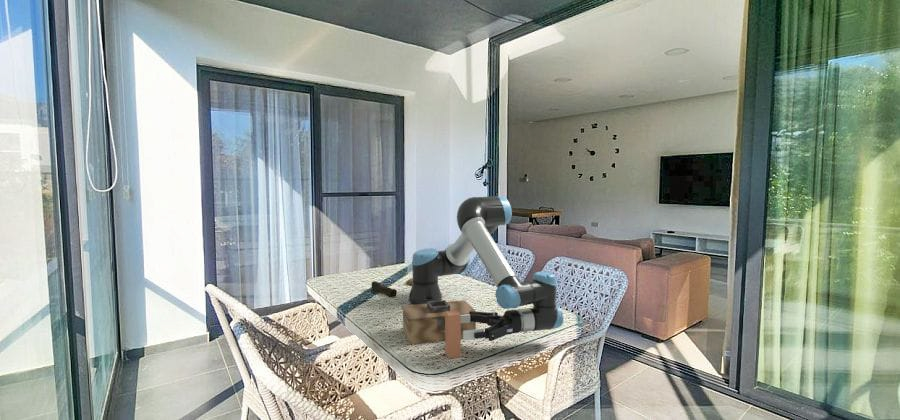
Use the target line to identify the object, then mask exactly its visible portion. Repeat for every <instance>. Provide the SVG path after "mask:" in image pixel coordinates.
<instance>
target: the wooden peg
mask: <svg viewBox="0 0 900 420" xmlns="http://www.w3.org/2000/svg"><path fill="white" fill-rule="evenodd" d="M461 341H462V338H461V314H460V313H459V312H458V311H457V310H455V311H445V340H444V343H445V345H444V354H445V355H446V357H447V359H455V358H461V354H462V353H461V351H462V350H461V347H462V346H461V345H462V344H461V343H462V342H461Z"/></svg>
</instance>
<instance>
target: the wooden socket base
mask: <svg viewBox="0 0 900 420" xmlns="http://www.w3.org/2000/svg"><path fill="white" fill-rule="evenodd" d="M401 310H402V330H403V332H404V335H405V337H406V340H407V342H408V344H409V345H416V344H426V343H433V342H441V341H443V342H444V341H445V311H455V310H457V311H458V312H459V313H460V314H461V315H466V314H469V312H470V311H474V312H477V311H476V310H475V309H474V308H473V306H472V305H470V304H469V303H468V302H467V300H465V299H464V300H462V299H461V300H452V301H446V299H445V300H444V299H442V300H441V301H430V302H427V304H417V305H415V304H409V305H401ZM476 326H477V322H471V323H461V339H463V331H466V330H475V329H477V328H476Z"/></svg>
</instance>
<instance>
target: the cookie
mask: <svg viewBox="0 0 900 420" xmlns="http://www.w3.org/2000/svg"><path fill="white" fill-rule="evenodd" d="M406 284H407V285H408V286H409V287H410V286H411V287H412V285H413V277H411V278H409V279H408V280H406Z"/></svg>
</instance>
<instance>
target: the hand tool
mask: <svg viewBox="0 0 900 420" xmlns="http://www.w3.org/2000/svg"><path fill="white" fill-rule="evenodd" d="M370 286H371V290H373V291H374V292H375V291H379V292H378V293H382V294H384V295H386V296H388V297H390V298H391V297H392V298H395V297H396V296H397V292H398V290H397V289H395V288H391V287H388V286H385V285H383V284H381V282H378V281H375V280H373V281H372V282H371V285H370Z"/></svg>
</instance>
